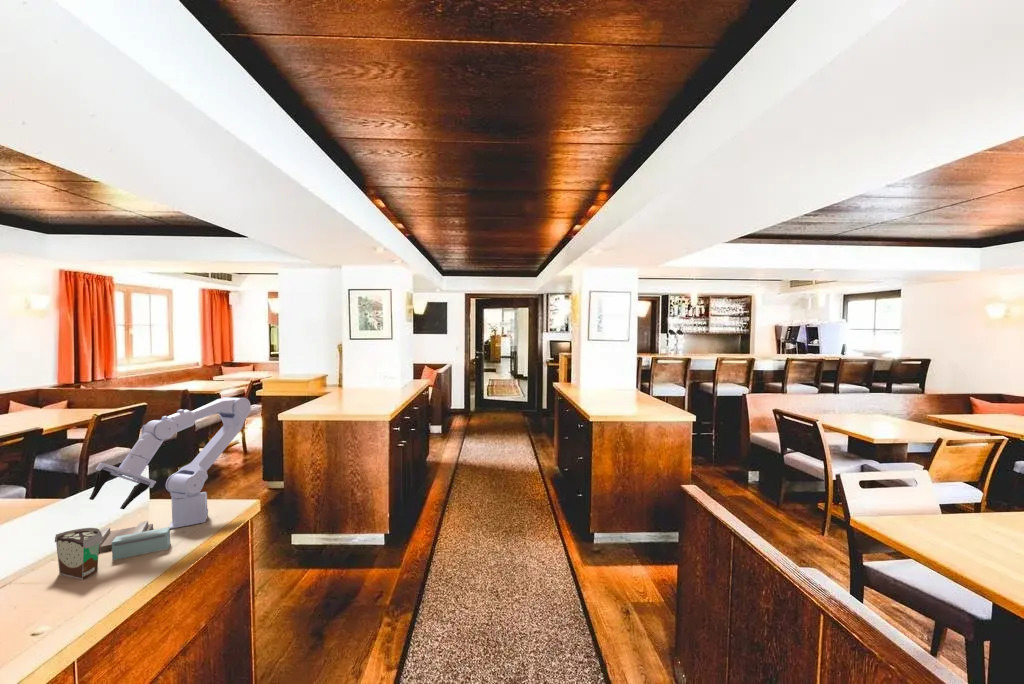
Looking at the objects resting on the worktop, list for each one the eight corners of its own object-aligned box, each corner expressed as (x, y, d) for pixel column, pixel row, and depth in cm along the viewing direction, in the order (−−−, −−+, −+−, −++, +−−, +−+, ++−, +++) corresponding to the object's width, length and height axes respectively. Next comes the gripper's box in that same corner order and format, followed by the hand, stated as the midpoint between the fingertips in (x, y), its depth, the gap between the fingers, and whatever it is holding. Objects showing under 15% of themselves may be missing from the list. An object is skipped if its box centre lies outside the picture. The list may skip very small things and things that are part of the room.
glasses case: (170, 544, 131) (169, 526, 131) (167, 550, 127) (167, 532, 127) (116, 554, 125) (116, 536, 125) (112, 561, 121) (111, 542, 121)
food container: (115, 568, 117) (114, 530, 117) (86, 580, 111) (84, 540, 111) (85, 561, 121) (83, 524, 121) (55, 573, 115) (54, 534, 115)
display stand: (153, 528, 142) (152, 518, 142) (144, 543, 131) (144, 533, 131) (98, 538, 135) (98, 528, 135) (85, 554, 125) (84, 544, 125)
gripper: (115, 446, 127) (79, 494, 119) (168, 466, 135) (139, 512, 128) (108, 448, 131) (74, 495, 124) (161, 468, 140) (132, 512, 132)
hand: (106, 504), depth 126 cm, fingers open, 7 cm apart
